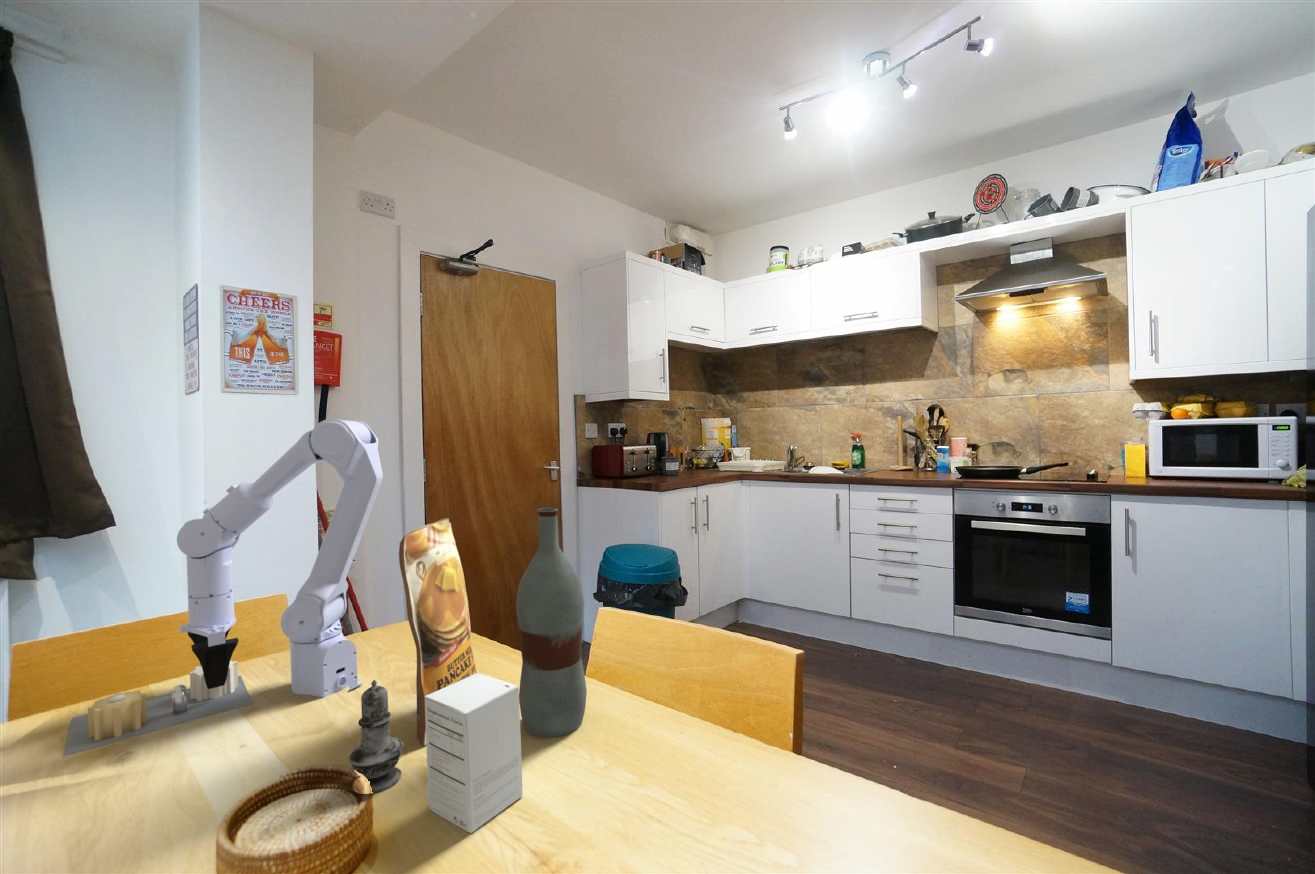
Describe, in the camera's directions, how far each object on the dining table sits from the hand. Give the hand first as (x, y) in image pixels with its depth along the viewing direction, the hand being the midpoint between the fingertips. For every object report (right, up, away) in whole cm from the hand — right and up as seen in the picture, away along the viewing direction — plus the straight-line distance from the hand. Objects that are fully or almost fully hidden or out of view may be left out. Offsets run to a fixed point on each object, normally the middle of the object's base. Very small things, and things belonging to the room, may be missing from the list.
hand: (213, 678), depth 91 cm
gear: (0, -2, 0) cm, 2 cm away
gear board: (-3, -3, -6) cm, 7 cm away
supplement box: (+50, -2, -28) cm, 57 cm away
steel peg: (0, -3, -6) cm, 7 cm away
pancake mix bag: (+39, -2, -8) cm, 40 cm away
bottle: (+56, -2, -10) cm, 57 cm away
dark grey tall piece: (+37, -3, -23) cm, 44 cm away
